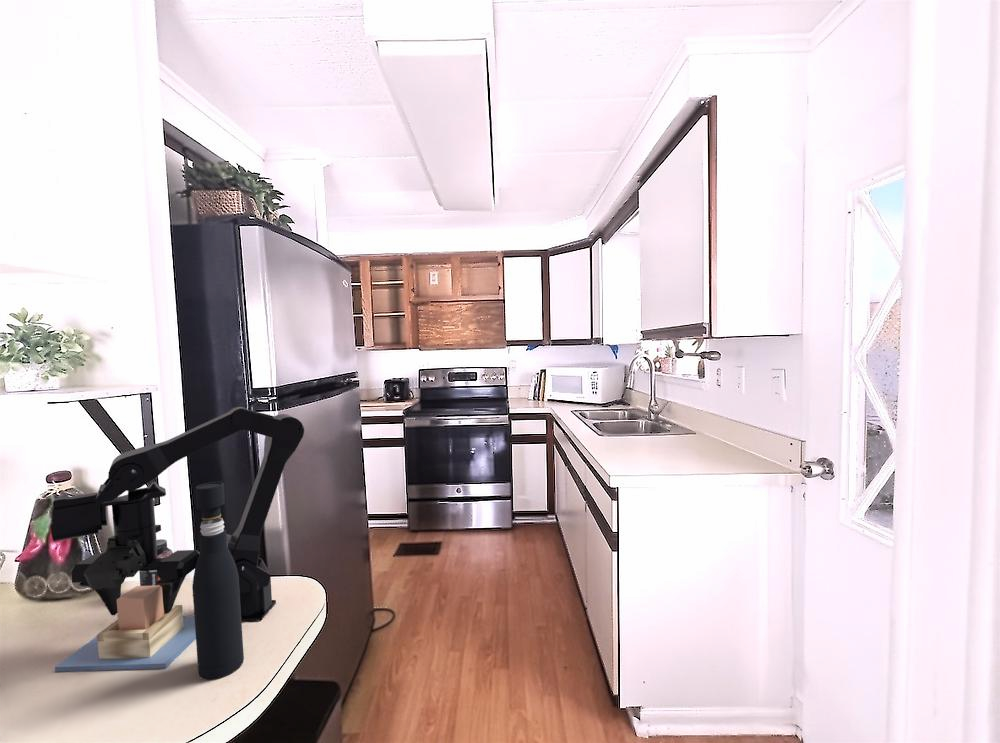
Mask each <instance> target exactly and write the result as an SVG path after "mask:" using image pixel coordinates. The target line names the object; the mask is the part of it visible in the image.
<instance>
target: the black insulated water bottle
mask: <svg viewBox="0 0 1000 743" xmlns="http://www.w3.org/2000/svg"><path fill="white" fill-rule="evenodd" d="M194 489H195V503H196V508H197V509H199V510H201V520H203V521H201V523H200V526H199V529H200V531H199V532H200V534H199V536H198V543H199V553H200V554H199V557H198V561H197V564H196V567H195V569H194V570H193V571H194V572H193V577H192V578H193V579H192V587H191V588H192V599H193V600H192V601H193V614H194V615H193V616H194V618H195V632H196V639H195V643H196V644H195V645H196V655H197V656H196V657H197V658H196V660H197V671H198V677H199V678H201V679H202V680H206V681H212V680H213V681H214V680H217V679H221V678H224V677H226V676H229V675H231V674H233V673H234V672H236V671H237V670H238V669H239V668H240V667H241V666H242V665H243V663H244V661H245V660H244V659H245V657H244V656H245V655H244V640H243V626H242V624H243V623H242V622H243V621H241V606H240V590H239V575H238V571H237V567H236V564H235V561H234V559H233V557H232V555H231V553H230V551H229V549H228V547H227V534H228V533H227V529H225V525H224V524H225V521H224V519H223V517H222V513H221V506H224V504H225V503H226V499H225V498H226V497H225V484H224V482H222V481H212V482H211V481H210V482H205V483H201V484H198V485H197V486H196V487H195V488H194Z"/></svg>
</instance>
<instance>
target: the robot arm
mask: <svg viewBox="0 0 1000 743" xmlns="http://www.w3.org/2000/svg"><path fill="white" fill-rule="evenodd" d="M241 430H244V431H248V432H251V433H254V434H259V435H262V436H264V442H263V443H264V446H263V447H264V448H263V457H262V459H261V463H260V466H259V468H258V472H257V474H256V477H255V480H254V482H253V486H252V488H251V491H250V494H249V497H248V499H247V502H246V505H245V507H244V510H243V514H242V516H241V519H240V521H239V524H238V525H237V526H238V527H237V528H236V529H235V531H234V532H233V534H230V533H229V534H228V533H226V534H227V547H228V549H229V551H230V553H231V555H232V557H233V559H234V561H235V564H236V567H237V571H238V575H239V590H240V606H241V622H243V621H244V622H247V621H248V622H250V621H251V622H253V621H261V620H263V619H264V618H265V617H266V616H267V614H268V613H269V612H270V610H272V608H273V607H274V606H275V605H276V603H277V600H276V599H273V596H272V579H271V576H272V575H271V573H270V571H269V569H268V567H267V566H266V564H265V562H264V559H262V558H260V554H261V536H262V531H263V529H264V525H265V523H266V521H267V517H268V514H269V512H270V509H271V505H272V503H273V500H274V498H275V495H276V491H277V490H278V486H279V483H280V480H281V478H282V476H283V475H282V474H283V472H284V469H285V465H286V463H288V461H289V460H290V458H291V457H292V456H293V454H294V453H295V452H296V451H297V448H298V446H299V445H300V443H301V442H302V440H303V438H304V435H305V426H304V425H303V422H301V421H300V420H299V419H298V418H296V417H293V416H291V415H289V414H285V413H280V414H276V415H271V414H266V413H263V412H258V411H255V410H254V411H253V410H250V409H248V408H246V407H243V406H237V407H233V408H231V410H228V411H227V412H226V413H223V414H221V415H219V416H217V417H215V418H213V419H210V420H208V421H207V422H206V421H205V422H204V423H202V424H200V425H198V426H195V427H193V428H190V429H189V430H187V431H184V432H182V433H181V434H178V435H175V436H174V437H172V438H170V439H167V440H164V441H161V442H159V443H154V444H153V443H152V444H149V445H145V446H142V447H138V448H135V449H131V450H127V451H125V452H122V453H120V454H119V455H118V456H116V457H115V458H114V459H113V460H112V463H111V464H110V468H109V470H108V477H107V479H106V480H105V481H104V483H103V484H100V486H99V489H98V491H97V492H92V493H86V494H79V495H73V496H72V495H71V496H68V495H67V496H59V497H55V498H54V500H53V501H52V516H51V523H50V532H51V537H52V540H53V542H55V543H56V542H61V541H65V540H66V541H67V540H71V539H76V538H83V537H86V536H92V535H97V534H100V532H101V530H103V527H105V526H109V511H108V510H109V507H110V506H111V512H112V525H113V526H112V528H113V535H112V536H110V537H108V538H107V542H106V550H105V552H96V553H94V554H92V555H89V556H88V557H86V558H85V559H82V560H81V561H79V562H76V564H74V566H72V569H71V571H70V578H71V583H72V584H74V583H75V584H76V583H79V586H80V587H85V588H89V589H92V590H94V591H95V592H96V594H97V595H98V596H99V597H100V599H101V601H102V602H103V604H104V606H105V607H106V609H107V610H108V612H109V614H110V615H111V616H116V615H118V611H117V599H118V598H120V597H121V596H122V595H121V594H122V592H121V591H122V585H123V583H125V580H126V579H127V578H133V577H135V576H136V575H137V573H139V571H152V570H157V576H158V577H159V578H161V579H160V580H159V581H157V582H156V583H157V584H158V585H160V586H161V587H162V595H163V607H164V612H165V614H168V613H169V612H170V611H171V609H172V607H173V605H175V601H176V599H177V597H178V594H179V591H180V589H181V587H182V584H183V582H184V581H185V579H186V577H187V576H188V574H190V573H191V572H193V571H195V567H196V564H197V561H198V557H199V554H200V551H199V550H197V549H186V550H185V549H183V550H182V549H181V550H176V551H173V554H171V555H170V556H168V557H166V558H158V555H160V554H161V553H163V549H162V547H157V540H158V539H157V533H158V532H159V533H160V532H161V531H162V526H161V524H156V516H155V513H156V512H155V501H154V500H155V499H157V498H162V497H163V498H164V497H165V496H166V495H167V492H166V488H165V487H162V486H160V485H159V484H158V483H157V482H156V481H152V480H154V479H155V478H156V477H158V476H160V475H161V474H162V473H163V472H164V471H166V470H167V469H168V468H170V467H171V466H172V465H174V464H175V463H176V462H179V461H180V460H183V459H184V458H187V457H188V456H190V455H192V454H194V453H196V452H199V451H200V450H203V449H205V448H207V447H209V446H212V445H213V444H215V443H217V442H219V441H221V440H223V439H225V438H226V437H227V438H228V437H229V436H231V435H233V434H235V433H238V432H239V431H241ZM151 481H152V482H151ZM149 482H151V484H150V485H148V486H147V487H143V486H145V485H146V484H148V483H149ZM142 487H143V488H142ZM125 492H127V494H124V495H123V493H125Z"/></svg>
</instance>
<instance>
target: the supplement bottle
mask: <svg viewBox="0 0 1000 743" xmlns="http://www.w3.org/2000/svg"><path fill="white" fill-rule="evenodd" d="M156 540H157V547H162V549H163V553H161V554H160V555H158V558H166V557H168V556H170V555H171V554H173V553H174V551H173V550H172V549H171V548H169V547H168V542H167V541H168V540H167V539H161V538H160V539H156ZM138 573H139V586H157V585H158V584H157V583H156V582H157V581H159V580H160V579H161V578H159V577H158V576H157V570H152V571H138Z"/></svg>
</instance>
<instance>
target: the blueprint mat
mask: <svg viewBox="0 0 1000 743" xmlns="http://www.w3.org/2000/svg"><path fill="white" fill-rule="evenodd" d="M183 625H184V627H183V628H182V629H181V630H180V631H179V632H178V633H177V634H175V635H174V636H173V637H172V638H171V639H170V640H169V641H168V642H167V643H166V644H164V645H163V646H162V647H161V648H160V649H159V650H158V651H157V652H156V653H154V654H153V655H152V656H151V657H142V658H110V659H99V652H98V640H97V635H96V636H95V637H94V638H92V639H90V641H88V642H87V643H85V644H84V645H82V646H81V647H80V648H78V649H77V650H75V651H74V652H73V653H72V654H70V655H69V656H68V657H66V658H64V659H63V660H62V661H61V662H59V663H58V664H57V665H55V666H54V672H55V673H59V672H61V673H63V672H87V671H88V672H89V671H90V672H91V671H94V672H95V671H119V670H121V671H122V670H123V671H124V670H149V669H153V670H154V669H167V668H168V667H169V666H170V665H171V664H172V663H173V662H175V660H177V658H178V657H179V656H180V655H182V653H184V651H186V649H187V648H188V647H189V646H190V645H191V644H192V643H193V642H195V641H196V632H195V618H194V615H183ZM174 659H175V660H174Z"/></svg>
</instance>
